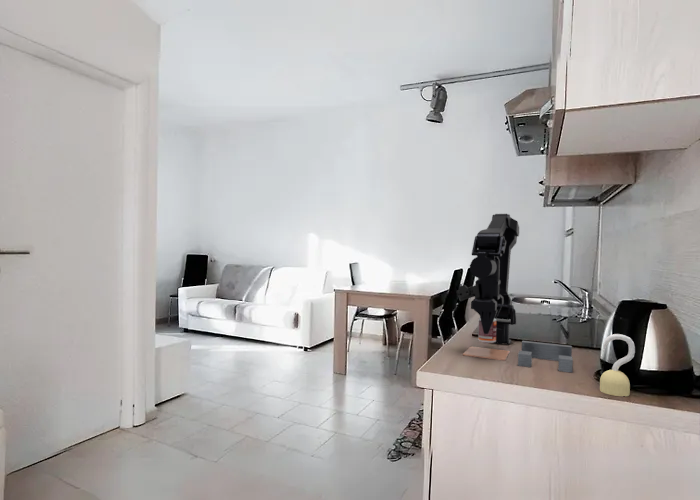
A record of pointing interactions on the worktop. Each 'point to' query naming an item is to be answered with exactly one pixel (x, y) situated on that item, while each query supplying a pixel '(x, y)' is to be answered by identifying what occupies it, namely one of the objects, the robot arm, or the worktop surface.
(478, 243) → the robot arm
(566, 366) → the vise
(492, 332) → the pill bottle
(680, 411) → the worktop surface
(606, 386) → the hook
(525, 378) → the worktop surface
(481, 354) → the tile
